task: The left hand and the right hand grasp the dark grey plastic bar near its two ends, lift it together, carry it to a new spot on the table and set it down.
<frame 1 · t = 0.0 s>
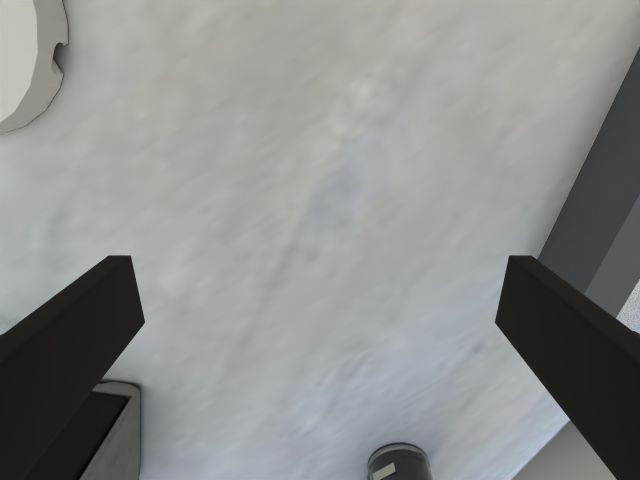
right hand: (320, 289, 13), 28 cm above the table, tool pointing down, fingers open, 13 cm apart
grey boxy piece: (29, 420, 53), on the table
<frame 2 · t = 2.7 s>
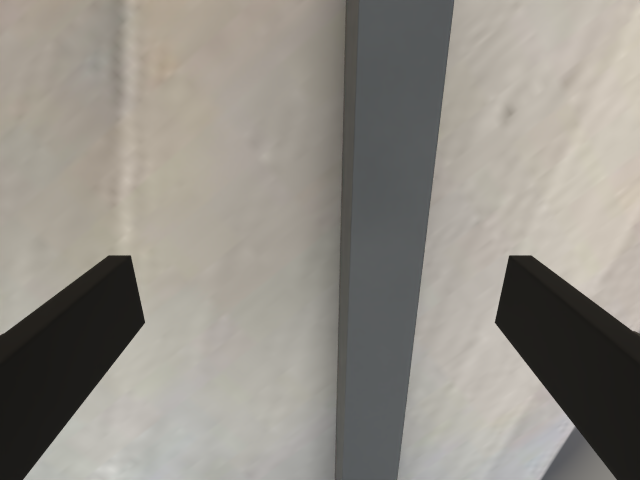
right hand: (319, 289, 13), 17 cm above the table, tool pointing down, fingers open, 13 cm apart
bar: (360, 362, 35), on the table, touching left hand
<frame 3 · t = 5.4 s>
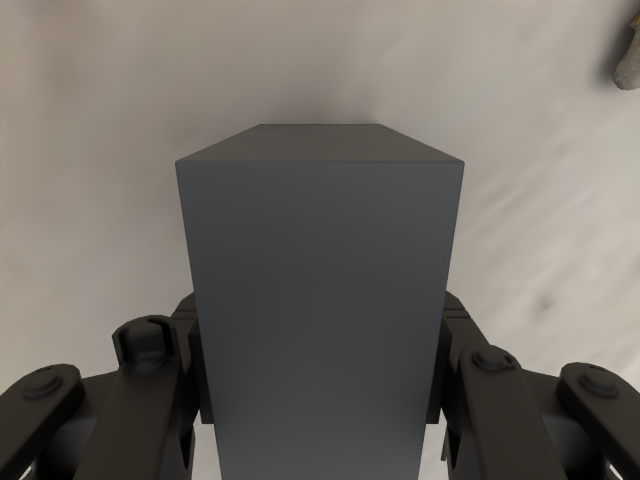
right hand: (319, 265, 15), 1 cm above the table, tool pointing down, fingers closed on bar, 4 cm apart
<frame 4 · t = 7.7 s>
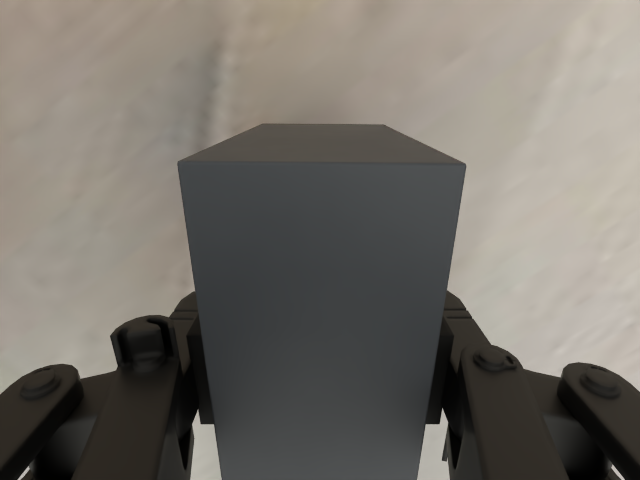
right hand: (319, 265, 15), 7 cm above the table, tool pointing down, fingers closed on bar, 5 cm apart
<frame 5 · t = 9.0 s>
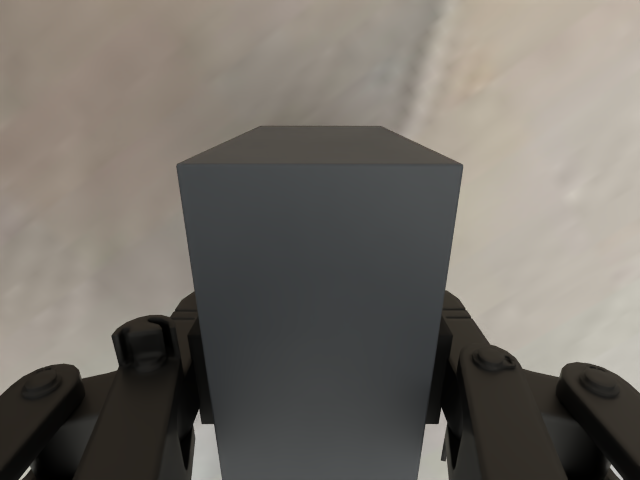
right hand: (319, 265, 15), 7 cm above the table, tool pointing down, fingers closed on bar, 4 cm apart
when the right hand's fingers open (2 cm above the table, at t = 10.0 s): bar drops 2 cm, on the table.
when the left hand's fingers open (5 cm above the table, at t = 10.1 s): bar stays where it is, on the table.
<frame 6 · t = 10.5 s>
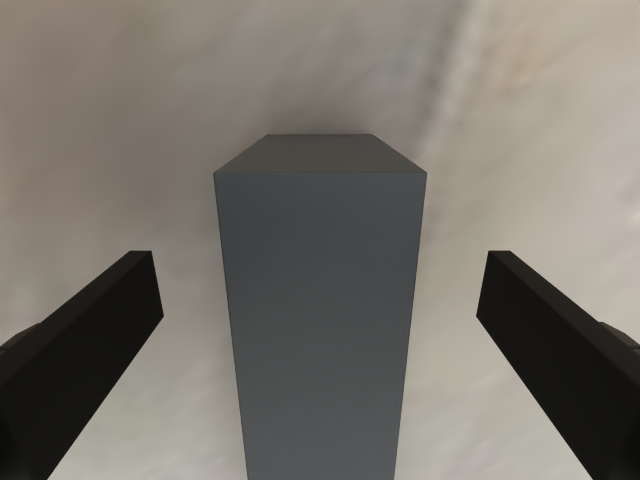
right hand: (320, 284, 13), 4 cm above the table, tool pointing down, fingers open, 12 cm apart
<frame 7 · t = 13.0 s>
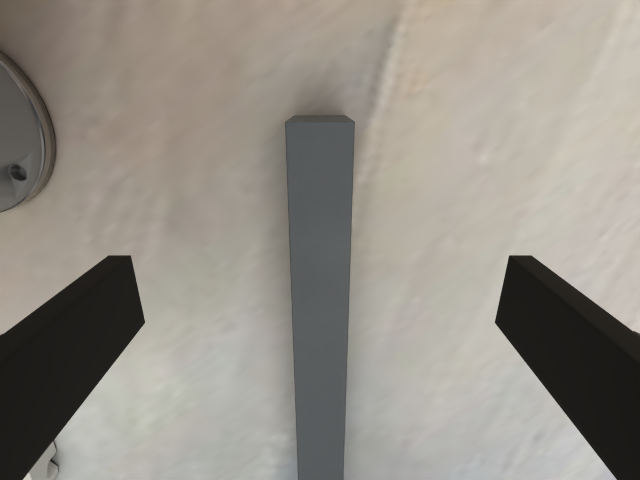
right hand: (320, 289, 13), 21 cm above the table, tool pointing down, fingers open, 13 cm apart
bar: (320, 391, 42), on the table
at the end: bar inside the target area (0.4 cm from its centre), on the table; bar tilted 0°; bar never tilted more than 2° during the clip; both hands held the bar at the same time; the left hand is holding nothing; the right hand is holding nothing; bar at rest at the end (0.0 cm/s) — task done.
